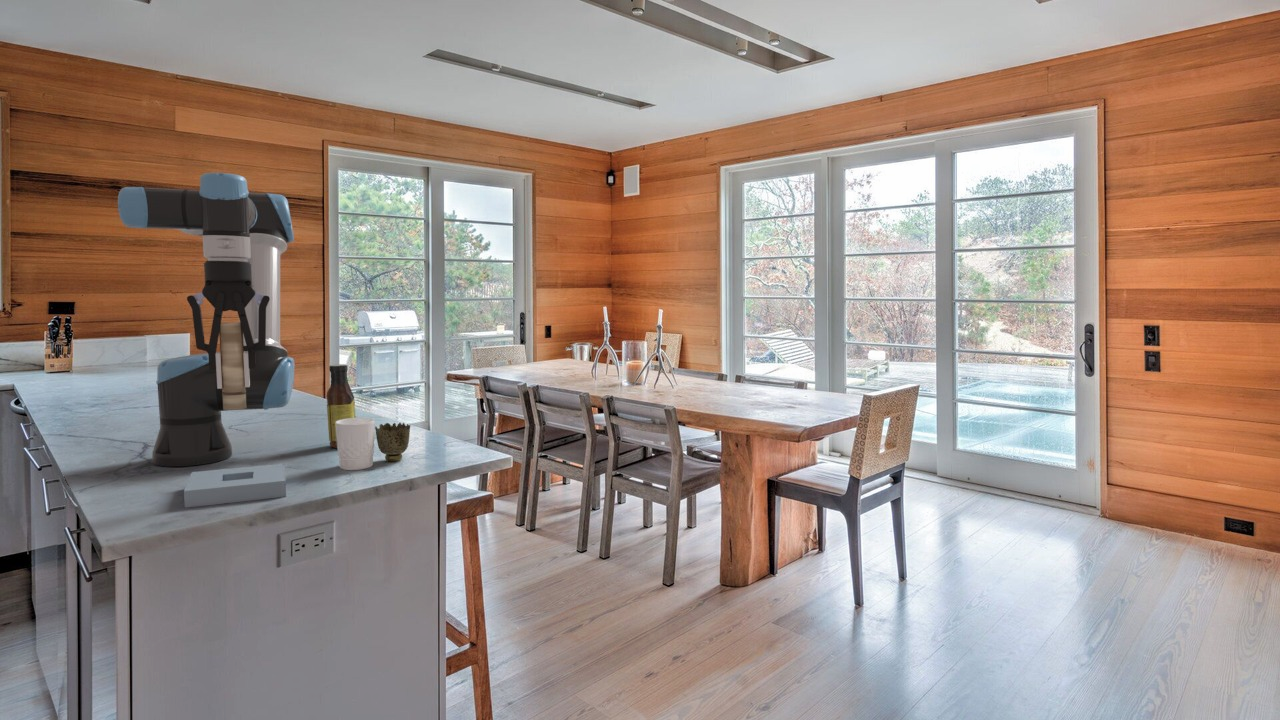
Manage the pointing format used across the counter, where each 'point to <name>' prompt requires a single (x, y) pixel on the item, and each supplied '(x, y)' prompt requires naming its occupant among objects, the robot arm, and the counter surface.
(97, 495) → the counter surface
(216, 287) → the robot arm
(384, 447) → the cup
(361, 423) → the white cup
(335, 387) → the sauce bottle
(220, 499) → the block
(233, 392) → the dowel
